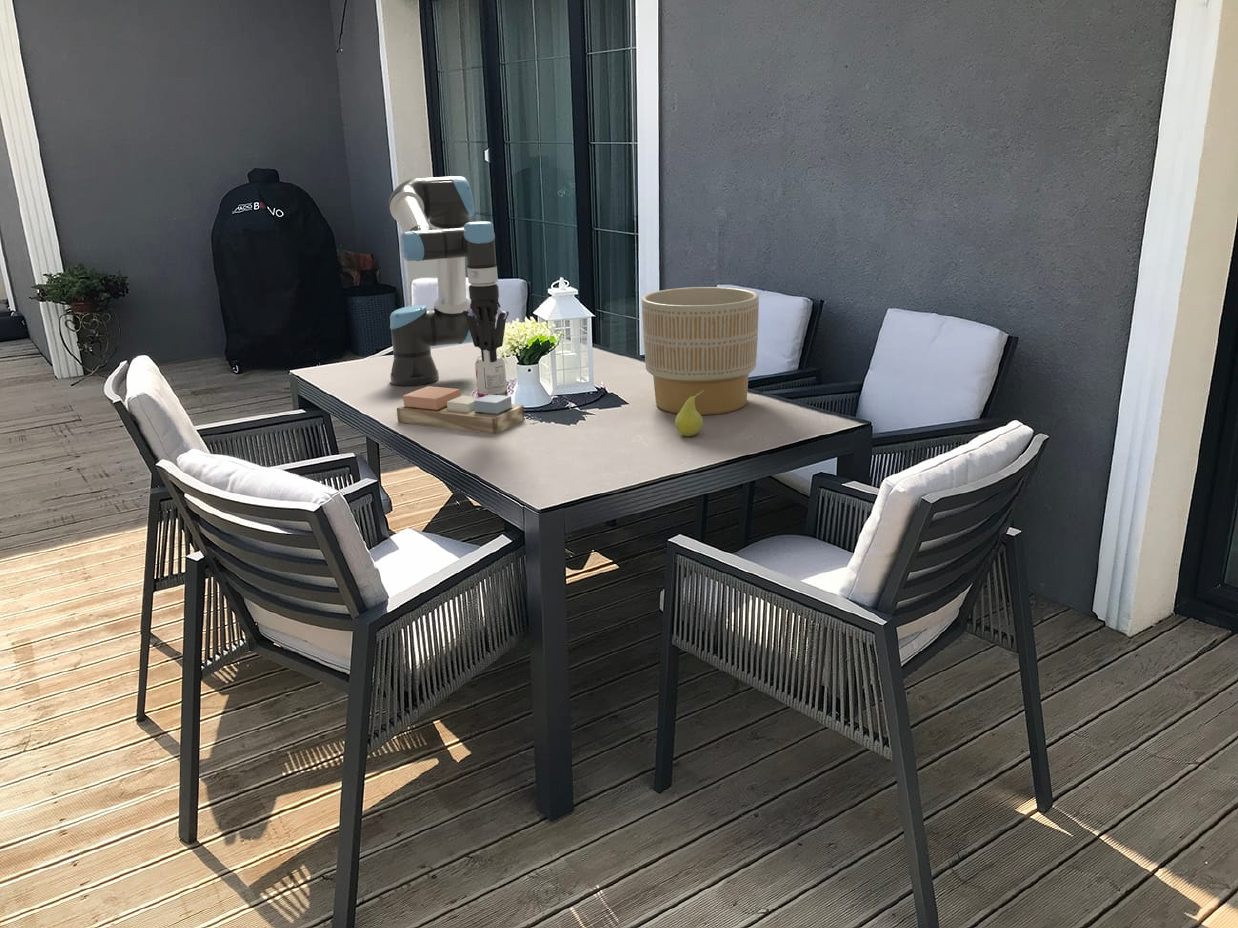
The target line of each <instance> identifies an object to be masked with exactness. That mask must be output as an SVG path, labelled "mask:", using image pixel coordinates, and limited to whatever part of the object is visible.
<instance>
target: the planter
mask: <svg viewBox="0 0 1238 928" xmlns="http://www.w3.org/2000/svg"><path fill="white" fill-rule="evenodd" d="M759 296H760V295H759V293H757V292H755V291H754V290H753V291H752V290H749V289H744V288H743V289H742V288H737V287H726V286H725V287H723V286H722V287H721V286H720V287H719V286H697V287H696V286H692V287H691V286H690V287H680V288H669V289H663V290H657V291H652V292H649V293H647V294H644V295H643V296H642V297H641V311H642V312H641V313H642V315H641V316H642V331H643V332H642V333H643V334H642V335H643V348H644V349H643V350H644V360H645V361H644V362H645V364H644V365H645V370H646V371H647V372H648V374H650V375H651V376H653V386H654V387H653V388H654V389H653V390H654V397H655V404H656V406H657V407H658V408H659V409H661V410H663V411H665V412H667V413H671V414H677V415H678V413H679V412H680V410H681V409H682V407H683V406H684V404H685V402H686V401H687V400H688V399H689V398H690V397H692V396H695V395H696V394H698V393H700V392H701V391H702V390H703V389H704V390H705V391H704V392H703V393H701V394H699V395H698V396H696V397H695V408H696V411H697V412H698V413H699V414H700V415H701V416H712V415H723V414H726V413H727V414H728V413H732V412H734V411H738V410H740V409H742V408H743V407H744V406H746V403H747V400H748V391H749V390H748V388H749V387H748V385H749V374H751V373H752V372H753V371H755V369H756V367H757V360H758V358H757V357H758V338H759V337H758V336H759V312H760V311H759V307H760V305H759V303H760V301H759V299H760V297H759Z"/></svg>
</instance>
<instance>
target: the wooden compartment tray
mask: <svg viewBox="0 0 1238 928" xmlns="http://www.w3.org/2000/svg"><path fill="white" fill-rule="evenodd" d="M396 413H397V414H396V416H397V423H400V424H401V423H402V424H411V425H417V426H418V425H420V426H427V427H434V428H435V427H436V428H444V429H452V430H461V431H469V432H477V433H485V434H486V433H487V434H495V435H497V434H498V433H500V432H503V431H504V430H506V429H508V428H511V427H512V426H515V425H517V424H519V423H520V422H522V421H525V409H524V405H522V404H513V403H512V407H511V408H509V409H507V410H505V411H504V413H503V414H501V415H498V416H496V415H487V414H483V412H475V410H474V411H472V412H470V413H469V412H459V411H450V410H448V408H447V407H446V408H444V409H441V410H439V411H428V410H419V409H418V408H416V407H407V406H404V404H403V405H401V406H399V407H396Z"/></svg>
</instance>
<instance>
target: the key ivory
mask: <svg viewBox="0 0 1238 928" xmlns="http://www.w3.org/2000/svg"><path fill="white" fill-rule="evenodd" d="M479 398H481V397H478V396H472V395H470V396H469V395H463V394H462V395H461V396H459V397H457V398H455V399H452V400H450V401H447V408H448V410H450V411H459V412H469V413H470V412H472V411H474V410H475V403H474V401H475V400H477V399H479Z"/></svg>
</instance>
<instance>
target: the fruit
mask: <svg viewBox="0 0 1238 928" xmlns="http://www.w3.org/2000/svg"><path fill="white" fill-rule="evenodd" d="M704 391H705V390H704V389H703V390H702V391H701V392H700V393H698V394H696V395H695V396H692V397H690V398H689V399H688V400H687V401H686V402H685V404H684V406H683V407H682V409H681V410H680V412H679V413H678V414H677V415H676V416H675V421H674V424H675V427H676V428H675V429H676V430H677V431H678V433H679V434H680V435H681V436H684V437H693V436H695V435H697V434H698V433H700V432H701V429H702V428H703V425H704V419H703V415H700V414H699V413H698V412H697V411H696V408H695V397H696V396H698V395H699V394H701V393H703V392H704Z"/></svg>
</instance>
